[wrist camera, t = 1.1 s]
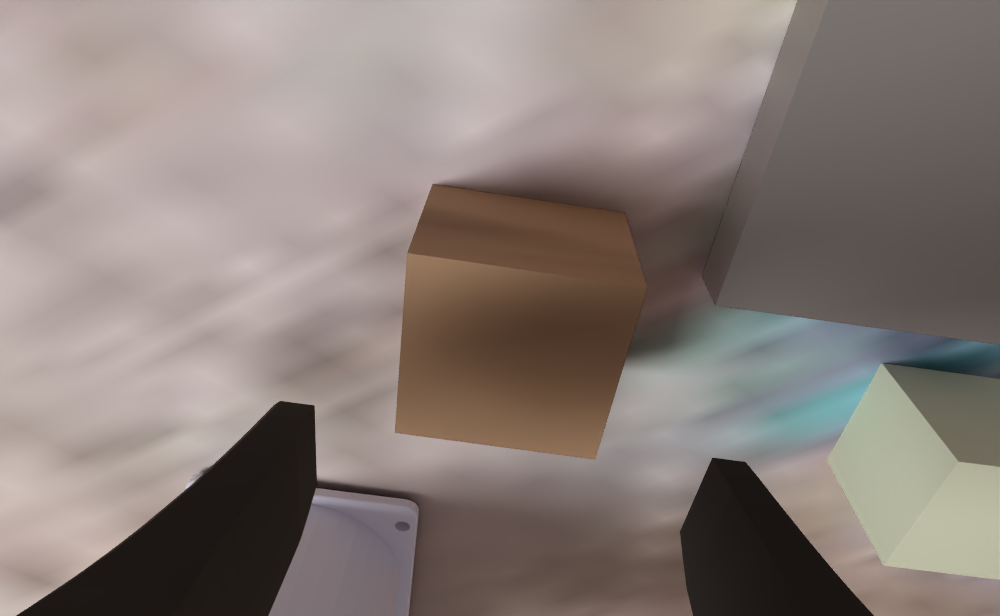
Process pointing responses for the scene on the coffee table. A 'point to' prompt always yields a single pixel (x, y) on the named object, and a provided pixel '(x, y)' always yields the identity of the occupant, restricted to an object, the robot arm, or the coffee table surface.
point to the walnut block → (516, 321)
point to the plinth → (873, 173)
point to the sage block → (926, 469)
